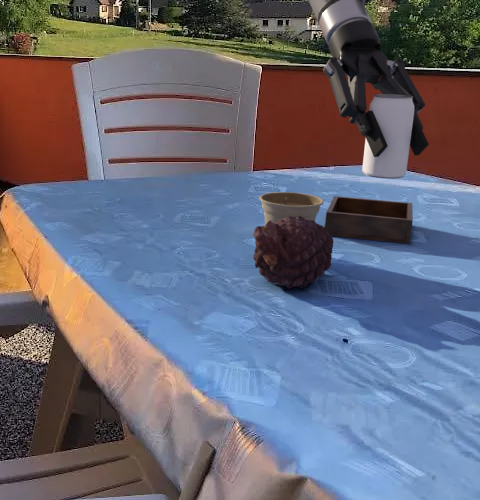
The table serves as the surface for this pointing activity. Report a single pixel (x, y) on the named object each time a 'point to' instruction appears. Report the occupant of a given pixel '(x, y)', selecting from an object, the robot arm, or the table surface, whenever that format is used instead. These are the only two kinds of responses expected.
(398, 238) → the wooden box
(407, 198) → the table surface
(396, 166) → the can
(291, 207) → the flower pot
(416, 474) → the table surface
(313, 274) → the pine cone
